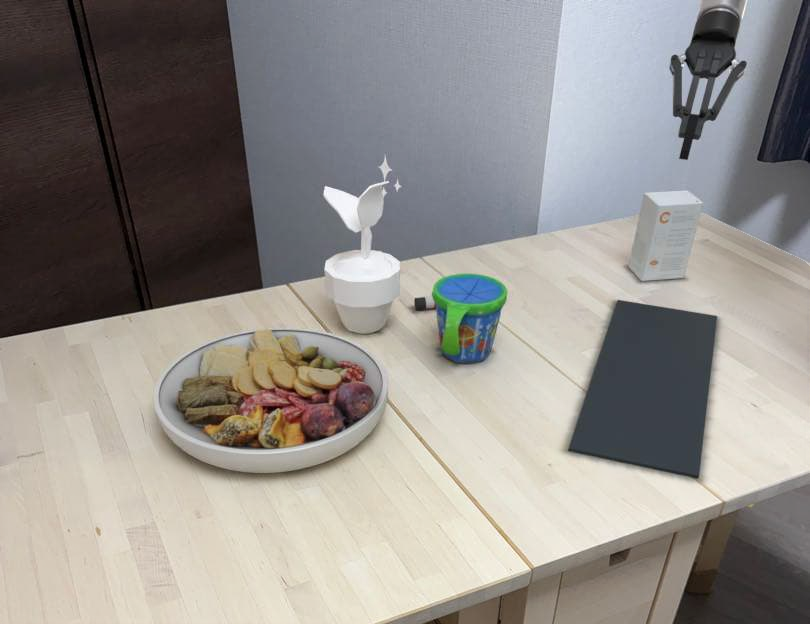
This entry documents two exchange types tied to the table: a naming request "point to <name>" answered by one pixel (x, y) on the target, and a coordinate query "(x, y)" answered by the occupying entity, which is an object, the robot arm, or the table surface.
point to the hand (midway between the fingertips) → (684, 155)
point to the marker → (424, 303)
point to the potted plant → (362, 262)
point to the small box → (665, 234)
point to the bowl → (271, 399)
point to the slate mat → (649, 390)
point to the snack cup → (468, 315)
